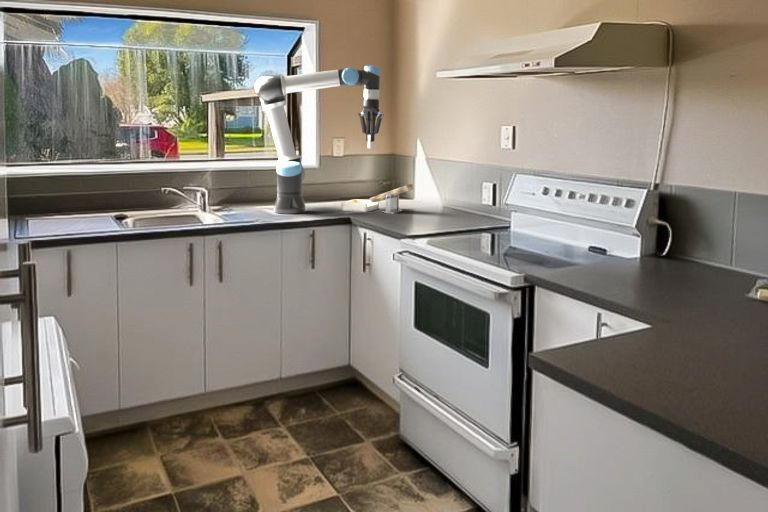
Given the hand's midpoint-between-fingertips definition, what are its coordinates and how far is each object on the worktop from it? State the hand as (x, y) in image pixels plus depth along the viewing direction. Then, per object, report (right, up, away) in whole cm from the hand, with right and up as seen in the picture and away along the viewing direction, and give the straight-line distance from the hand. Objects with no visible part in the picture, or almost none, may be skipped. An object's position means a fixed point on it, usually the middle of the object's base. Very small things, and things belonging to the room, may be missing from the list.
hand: (370, 148), depth 362 cm
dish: (-5, -30, -1) cm, 30 cm away
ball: (-8, -27, 0) cm, 28 cm away
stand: (+11, -31, -7) cm, 34 cm away
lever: (+12, -24, -6) cm, 27 cm away
